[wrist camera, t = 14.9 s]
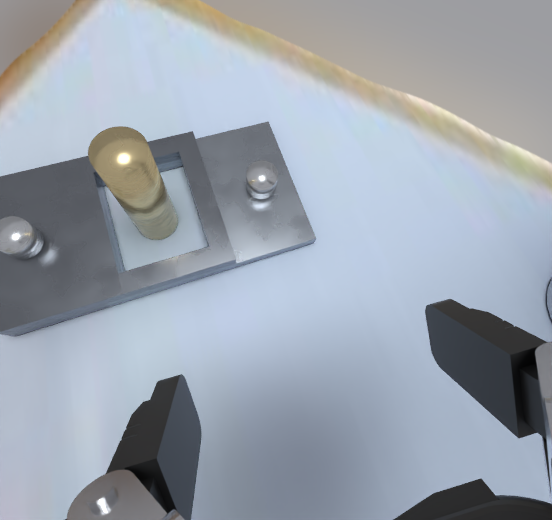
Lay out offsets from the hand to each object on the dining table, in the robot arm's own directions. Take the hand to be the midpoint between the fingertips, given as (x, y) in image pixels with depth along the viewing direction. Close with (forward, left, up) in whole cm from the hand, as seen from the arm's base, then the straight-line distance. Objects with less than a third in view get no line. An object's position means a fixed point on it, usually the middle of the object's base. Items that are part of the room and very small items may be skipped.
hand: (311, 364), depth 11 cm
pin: (+5, -16, -19) cm, 25 cm away
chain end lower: (+2, -16, -19) cm, 25 cm away
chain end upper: (+9, -16, -19) cm, 27 cm away
